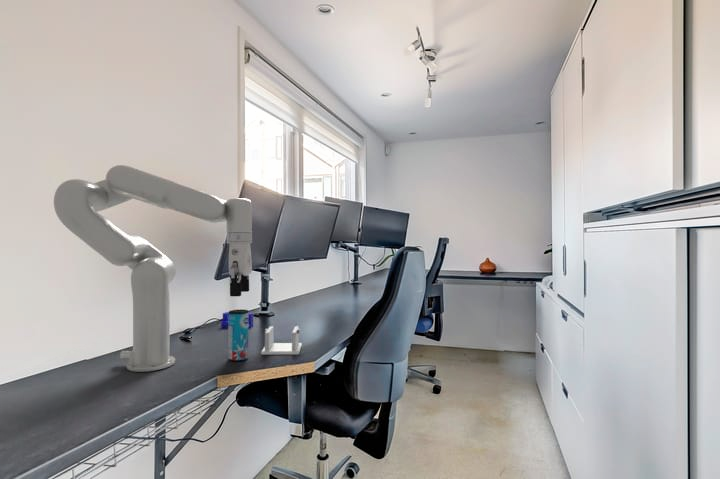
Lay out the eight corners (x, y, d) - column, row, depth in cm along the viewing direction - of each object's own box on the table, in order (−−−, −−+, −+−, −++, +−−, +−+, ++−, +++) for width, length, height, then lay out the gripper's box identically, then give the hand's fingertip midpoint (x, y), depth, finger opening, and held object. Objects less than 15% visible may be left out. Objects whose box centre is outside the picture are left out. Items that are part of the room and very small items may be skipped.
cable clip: (221, 328, 163) (221, 314, 163) (225, 326, 167) (225, 312, 167) (249, 329, 162) (249, 314, 162) (253, 326, 166) (253, 312, 166)
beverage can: (240, 363, 118) (241, 313, 118) (224, 361, 119) (224, 312, 119) (252, 357, 123) (252, 310, 123) (236, 355, 125) (236, 309, 125)
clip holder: (261, 354, 127) (261, 332, 127) (267, 345, 137) (267, 325, 137) (298, 354, 127) (298, 332, 127) (301, 345, 137) (301, 325, 137)
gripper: (244, 238, 113) (245, 298, 113) (257, 238, 130) (258, 289, 130) (218, 238, 112) (218, 298, 113) (234, 238, 130) (235, 290, 130)
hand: (240, 293), depth 121 cm, fingers open, 9 cm apart
